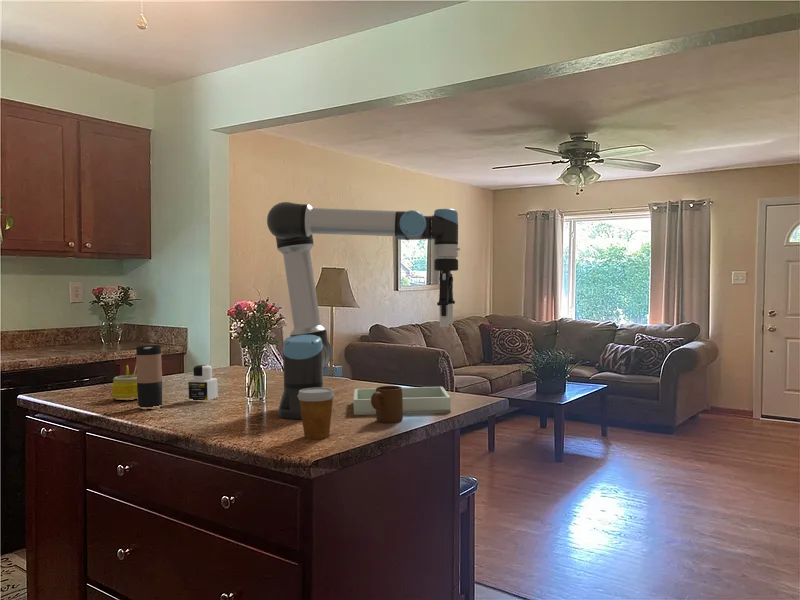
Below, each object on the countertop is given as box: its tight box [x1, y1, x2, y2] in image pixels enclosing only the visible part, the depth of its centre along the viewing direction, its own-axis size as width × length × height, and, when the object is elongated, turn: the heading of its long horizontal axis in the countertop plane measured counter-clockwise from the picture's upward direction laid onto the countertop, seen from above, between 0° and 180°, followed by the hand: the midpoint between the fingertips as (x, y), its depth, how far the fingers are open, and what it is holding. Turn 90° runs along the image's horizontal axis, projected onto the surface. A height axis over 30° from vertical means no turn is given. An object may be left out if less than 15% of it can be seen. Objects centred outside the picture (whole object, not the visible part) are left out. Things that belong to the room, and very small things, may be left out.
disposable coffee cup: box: [297, 387, 336, 440], centre depth 167 cm, size 10×10×12 cm
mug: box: [371, 385, 404, 424], centre depth 183 cm, size 12×8×9 cm, turn 147°
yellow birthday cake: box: [111, 363, 138, 398], centre depth 228 cm, size 13×11×12 cm
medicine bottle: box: [187, 364, 219, 400], centre depth 223 cm, size 7×7×12 cm
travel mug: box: [135, 344, 163, 407], centre depth 210 cm, size 8×8×20 cm
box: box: [353, 386, 452, 416], centre depth 204 cm, size 29×20×4 cm
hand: (446, 325), depth 206 cm, fingers open, 13 cm apart
